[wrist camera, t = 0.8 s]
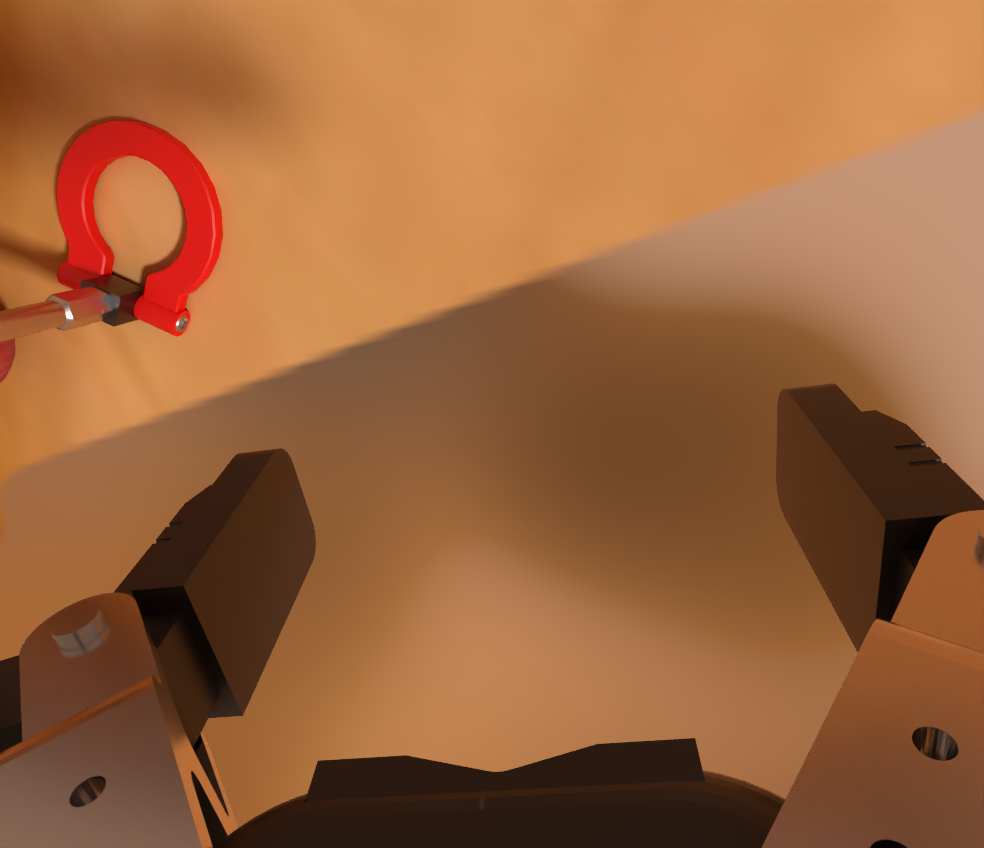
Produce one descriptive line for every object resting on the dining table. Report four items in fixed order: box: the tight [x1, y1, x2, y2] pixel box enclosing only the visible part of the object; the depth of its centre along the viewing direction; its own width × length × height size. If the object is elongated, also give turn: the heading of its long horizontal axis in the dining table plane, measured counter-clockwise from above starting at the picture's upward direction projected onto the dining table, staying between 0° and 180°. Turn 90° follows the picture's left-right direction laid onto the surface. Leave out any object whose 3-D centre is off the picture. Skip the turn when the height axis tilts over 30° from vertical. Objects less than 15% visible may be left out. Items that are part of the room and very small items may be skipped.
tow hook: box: [0, 120, 223, 342], centre depth 29 cm, size 8×13×9 cm
